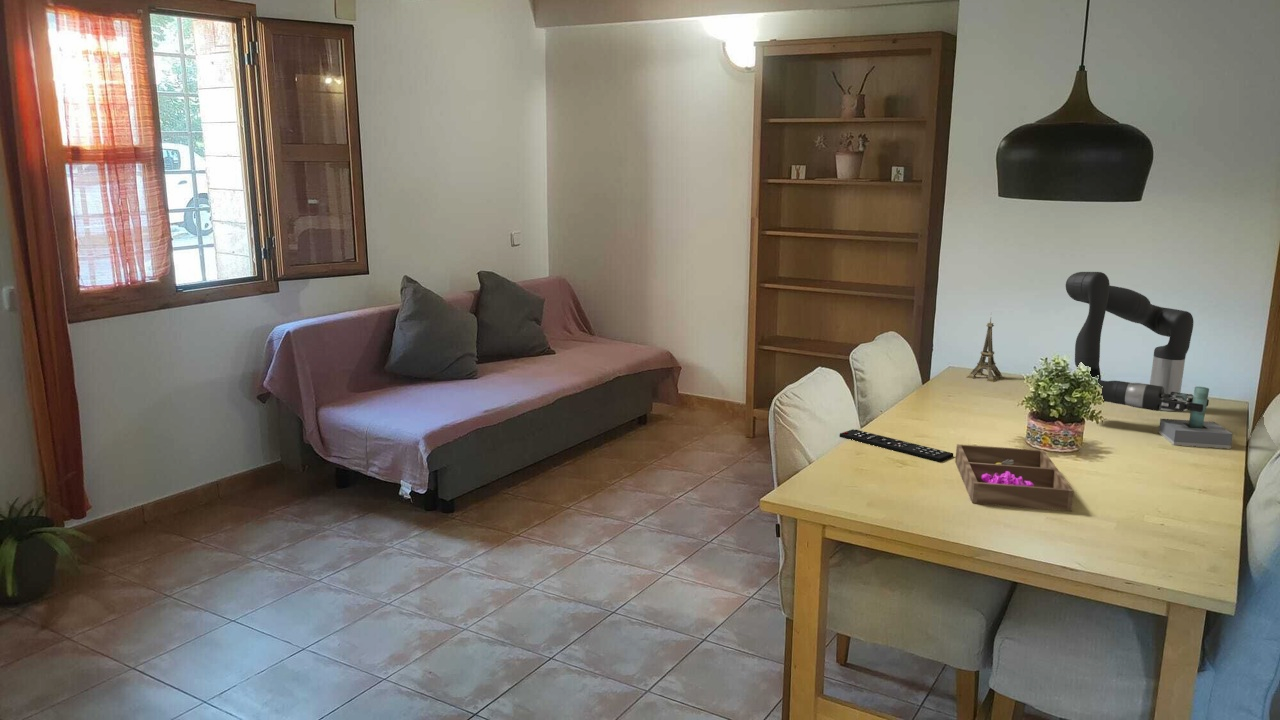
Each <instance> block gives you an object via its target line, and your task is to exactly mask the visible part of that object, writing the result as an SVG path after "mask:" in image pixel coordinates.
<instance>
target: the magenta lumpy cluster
mask: <svg viewBox="0 0 1280 720" xmlns="http://www.w3.org/2000/svg"><path fill="white" fill-rule="evenodd" d="M1004 475H1005V476H1004ZM1002 477H1004V479H1003V478H1002ZM981 478H982V480H983V482H986V483H996V484H1009V485H1022V486H1034V484H1033V483H1032V482H1030V481H1024V483H1025V484H1024V483H1023V482H1022V481H1023V478H1022V477H1021V476H1020V477H1018V478H1016V477H1015V475H1014V474H1011V473H1010V472H1009V471H1006V472H1005V473H1003V474H1001V476H999V475H998V473H995V474H994V476H993V479H991V480H990V478H992V476H991V475H989V474H987V473H986V474H983V475H982V477H981ZM1011 478H1013V479H1011ZM1003 482H1004V483H1003ZM1011 482H1013V483H1012V484H1011Z"/></svg>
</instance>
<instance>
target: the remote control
mask: <svg viewBox="0 0 1280 720" xmlns="http://www.w3.org/2000/svg"><path fill="white" fill-rule="evenodd" d="M839 438H842V439H846V440H849V439H851V440H850V441H853V440H855V442H857V441H858V442H859V443H861V442H862V444H865V445H869V444H870V445H869V446H873V445H874V446H873V447H877V446H878V447H877V448H880V447H881V449H884V448H885V450H889V451H892V450H893V451H894V452H897V453H900V454H905V455H908V456H911V457H916V458H920V459H924V460H928V461H932V462H935V463H942V462H944V461H946V460H949V459H952V458H954V453H953V452H950V451H945V450H941V449H937V448H932V447H929V446H926V445H921V444H916V443H912V442H908V441H904V440H900V439H896V438H892V437H887V436H883V435H880V434H875V433H873V432H872V433H871V432H867V431H864V430H858V429H856V428H853V429H850V430H847V431H843V432H840V433H839ZM852 439H853V440H852ZM858 442H857V443H858Z"/></svg>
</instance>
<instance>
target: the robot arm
mask: <svg viewBox="0 0 1280 720" xmlns="http://www.w3.org/2000/svg"><path fill="white" fill-rule="evenodd" d="M1110 284H1111V283H1110V279H1109V277H1108V275H1106V273H1104V272H1103V271H1078V272H1074V273H1073V274H1071V275H1070V276H1069V277H1068V278H1067V280H1066V281H1065V290H1066V293H1067V295H1068V296H1069V297H1070V299H1072V300H1074V301H1076V302H1081V303H1086V304H1088V305H1089V307H1088V314H1087V317H1086V319H1085V322H1084V323H1083V325H1082V327H1081V329H1080V331H1078V334H1077V336H1076V339H1075V343H1074V344H1075V346H1074V365H1075V367H1076V368H1077V367H1078V365H1079V363H1080V362H1082V363H1083V364H1084V365H1085V366H1089V367H1091V371H1090V374H1091V376H1092V377H1095V376H1097V375H1099V379H1098V383H1099V384H1100V385H1101V386H1103V388H1102V395H1103V399H1104V401H1103V402H1106V403H1112V404H1116V405H1117V404H1118V405H1124V406H1128V407H1132V408H1136V409H1142V410H1143V409H1144V410H1147V411H1148V410H1149V411H1155V412H1159V411H1165V412H1167V411H1168V412H1173V411H1177V412H1180V413H1181V412H1184V411H1185V412H1186V411H1190V412H1191V411H1197V412H1202V411H1203V407H1204V405H1203V404H1197V403H1192V402H1193V396H1194V394H1192V393H1185V392H1184V393H1183V392H1181V391H1182V384H1183V378H1184V370H1185V369H1184V368H1185V362H1186V357H1187V354H1188V351H1189V349H1190V345H1191V341H1192V340H1191V339H1192V334H1193V330H1194V317H1193V314H1192V313H1191V312H1189V311H1186V310H1183V309H1182V310H1181V309H1175V308H1170V307H1162V306H1158V305H1156V304H1151V301H1150V299H1149V298H1148V297H1147V296H1145V295H1144V294H1142V293H1140V292H1137V291H1135V290H1132V289H1130V288H1126V287H1120V286H1115V285H1110ZM1106 312H1108V313H1110V314H1112V315H1114V316H1116V317H1119V318H1121V319H1123V320H1125V321H1128V322H1132V323H1135V324H1140V325H1142V326H1144V327H1145V328H1147V329H1149V330H1150V331H1152V332H1154V333H1155V334H1157V335H1160V336H1163V337H1168V338H1169V340H1168V343H1167V344H1164V345H1161V346H1157V347H1154V350H1153V358H1152V366H1151V374H1150V380H1149V384H1148V383H1142V382H1128V381H1122V380H1102V377H1101V369H1100V361H1101V360H1100V358H1101V357H1100V356H1101V337H1102V331H1103V326H1104V319H1105V317H1106ZM1209 402H1210V400H1209V398H1208V399H1207V405H1206V408H1207V407H1208V406H1209V404H1210V403H1209Z"/></svg>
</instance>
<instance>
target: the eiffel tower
mask: <svg viewBox="0 0 1280 720" xmlns="http://www.w3.org/2000/svg"><path fill="white" fill-rule="evenodd" d="M990 313H991V314H992V312H990ZM994 326H995V325H994V323H992V318H990V320H989V322H987V324H986V327H987V330H986V335H985V340H984V343H983V348H982V350H981V351H980V354H981V355H980V357H979V361H978V362H976V364H977V365H976V366H975V367H974V368H973V369H972V370H971V371H970V373H969V375H966V378H967V379H976V378H977V375H978V376H982V375H984V370H985V371H987V376H988V377H987V379H986V381H987V382H991V383H994V382H996V381H997V379H1004V378H1005V376H1003V375H1002V372H1001V371H1000V369H998V366H997V365H996V364H997V363H996V361H995V359H994V358H995V357H994V355H995V351H994V348H993V327H994ZM986 360H987V361H986Z"/></svg>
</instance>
